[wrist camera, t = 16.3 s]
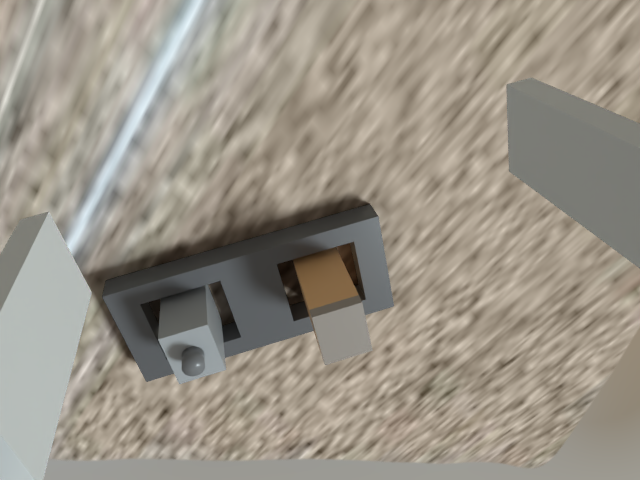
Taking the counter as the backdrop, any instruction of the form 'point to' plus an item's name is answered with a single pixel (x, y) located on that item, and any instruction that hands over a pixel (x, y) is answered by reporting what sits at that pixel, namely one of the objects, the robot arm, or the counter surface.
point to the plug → (333, 305)
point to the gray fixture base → (237, 295)
